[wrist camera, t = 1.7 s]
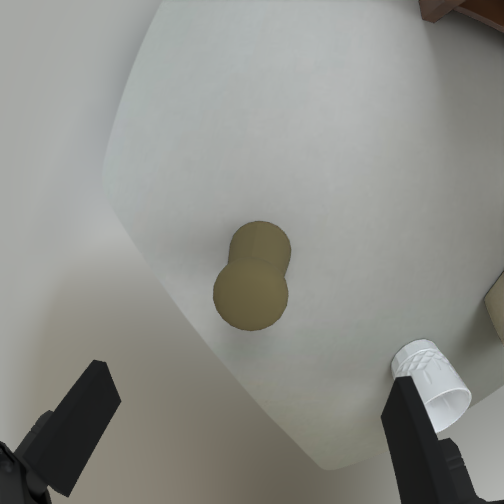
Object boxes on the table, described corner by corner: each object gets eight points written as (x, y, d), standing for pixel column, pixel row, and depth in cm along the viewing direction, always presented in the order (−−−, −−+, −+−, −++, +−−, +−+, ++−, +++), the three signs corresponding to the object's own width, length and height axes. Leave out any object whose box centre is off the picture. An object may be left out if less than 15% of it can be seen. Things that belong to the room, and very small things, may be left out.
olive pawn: (281, 285, 30) (279, 353, 20) (224, 270, 30) (195, 330, 20) (298, 230, 28) (308, 277, 18) (237, 213, 28) (211, 251, 18)
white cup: (375, 361, 33) (395, 421, 23) (426, 323, 30) (461, 376, 21) (401, 389, 34) (421, 444, 25) (447, 356, 32) (477, 405, 22)
